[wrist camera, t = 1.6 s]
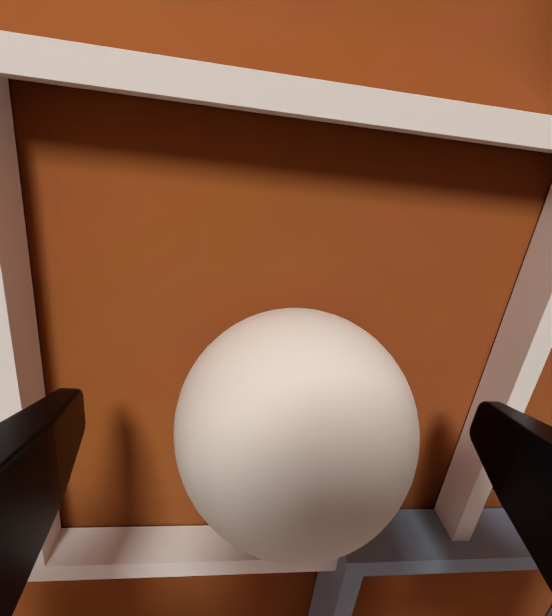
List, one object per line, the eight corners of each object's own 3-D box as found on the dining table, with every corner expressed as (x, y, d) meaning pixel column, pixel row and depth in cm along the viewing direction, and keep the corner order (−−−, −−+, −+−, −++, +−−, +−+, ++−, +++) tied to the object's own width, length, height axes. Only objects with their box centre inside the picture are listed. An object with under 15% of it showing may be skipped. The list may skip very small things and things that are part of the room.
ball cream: (388, 284, 10) (519, 402, 6) (351, 439, 12) (427, 622, 8) (188, 268, 10) (154, 390, 5) (182, 437, 11) (153, 638, 7)
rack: (594, 130, 9) (643, 129, 8) (440, 533, 14) (458, 566, 13) (-32, 36, 7) (-78, 18, 6) (41, 542, 12) (23, 581, 11)
